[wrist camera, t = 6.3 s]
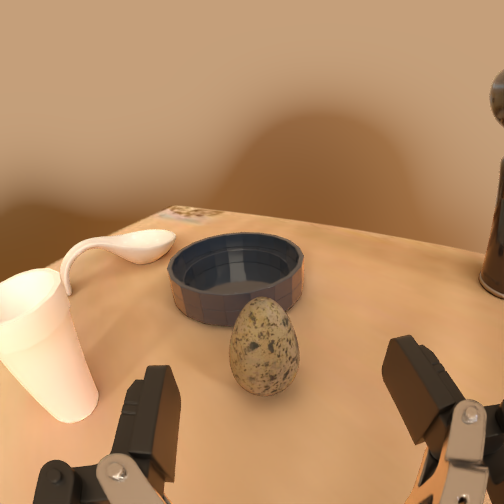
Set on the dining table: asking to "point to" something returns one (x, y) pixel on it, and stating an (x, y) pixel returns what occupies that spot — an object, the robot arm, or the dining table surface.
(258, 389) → the decorative egg
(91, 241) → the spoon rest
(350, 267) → the dining table surface
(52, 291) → the foam cup
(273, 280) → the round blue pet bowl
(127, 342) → the dining table surface
